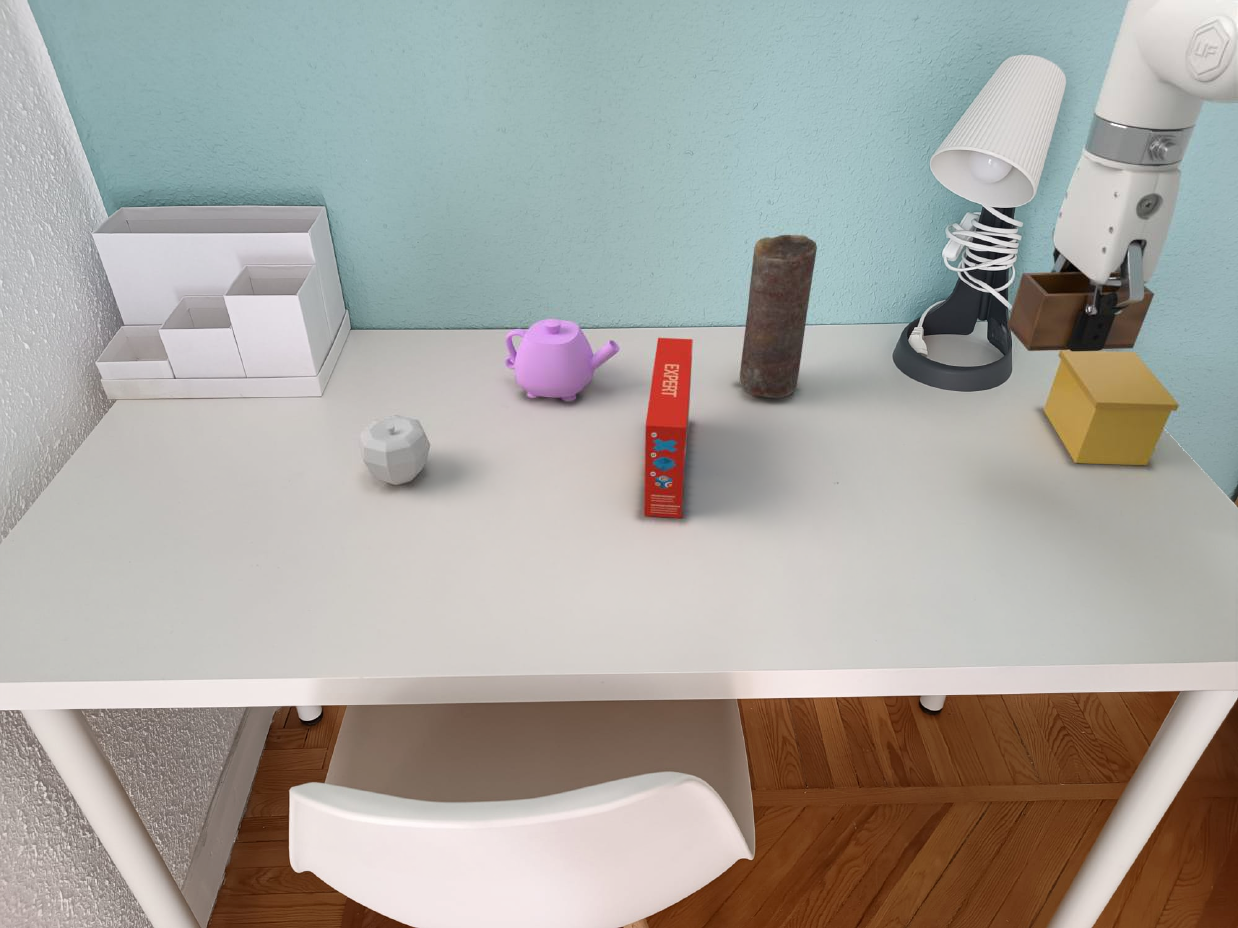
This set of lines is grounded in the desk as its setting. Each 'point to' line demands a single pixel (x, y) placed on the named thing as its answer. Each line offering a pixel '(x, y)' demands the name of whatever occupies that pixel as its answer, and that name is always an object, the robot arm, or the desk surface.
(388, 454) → the apple
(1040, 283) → the wooden cubby shelf
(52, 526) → the desk surface
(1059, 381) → the box
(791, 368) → the candle
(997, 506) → the desk surface
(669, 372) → the toy box
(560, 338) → the teapot
